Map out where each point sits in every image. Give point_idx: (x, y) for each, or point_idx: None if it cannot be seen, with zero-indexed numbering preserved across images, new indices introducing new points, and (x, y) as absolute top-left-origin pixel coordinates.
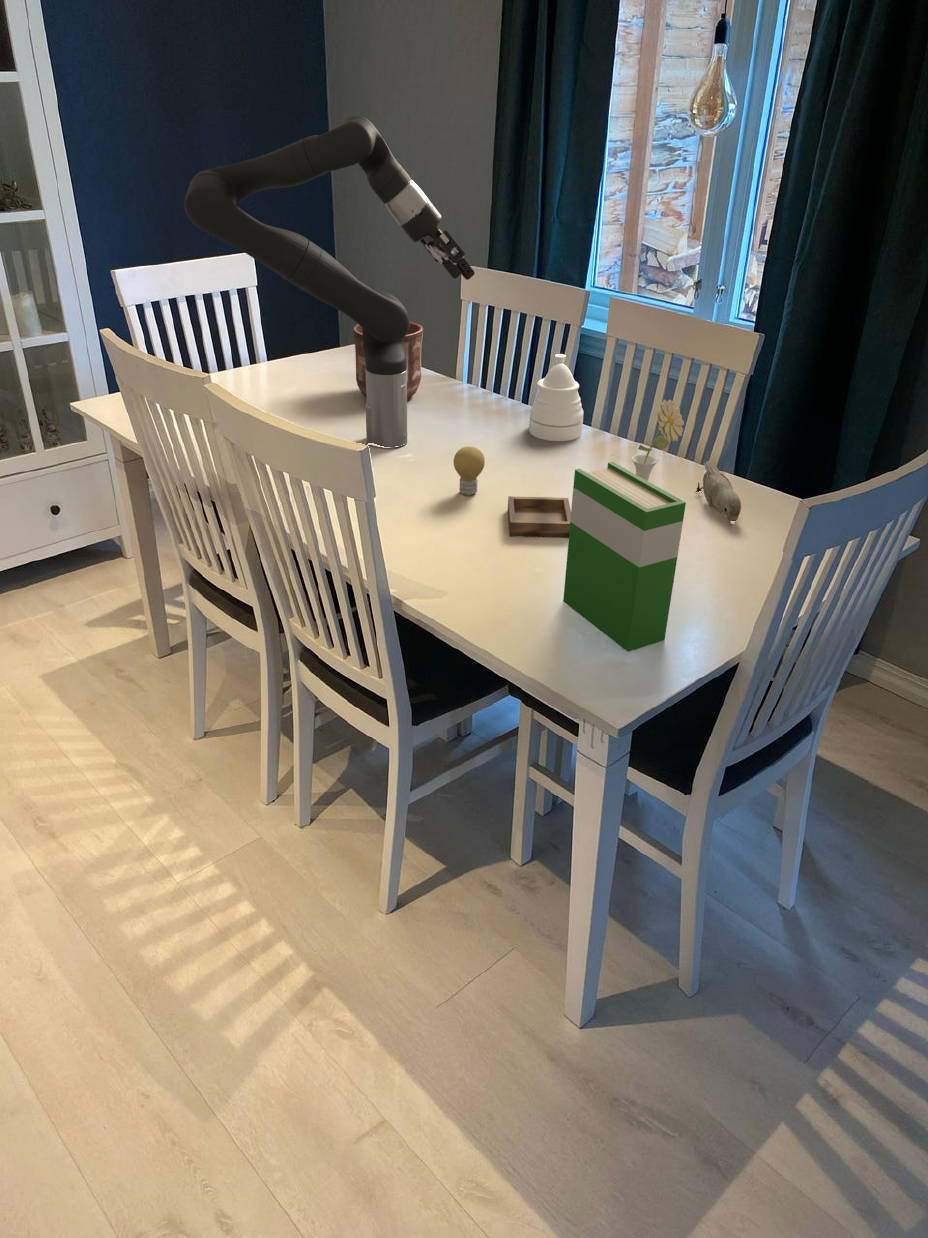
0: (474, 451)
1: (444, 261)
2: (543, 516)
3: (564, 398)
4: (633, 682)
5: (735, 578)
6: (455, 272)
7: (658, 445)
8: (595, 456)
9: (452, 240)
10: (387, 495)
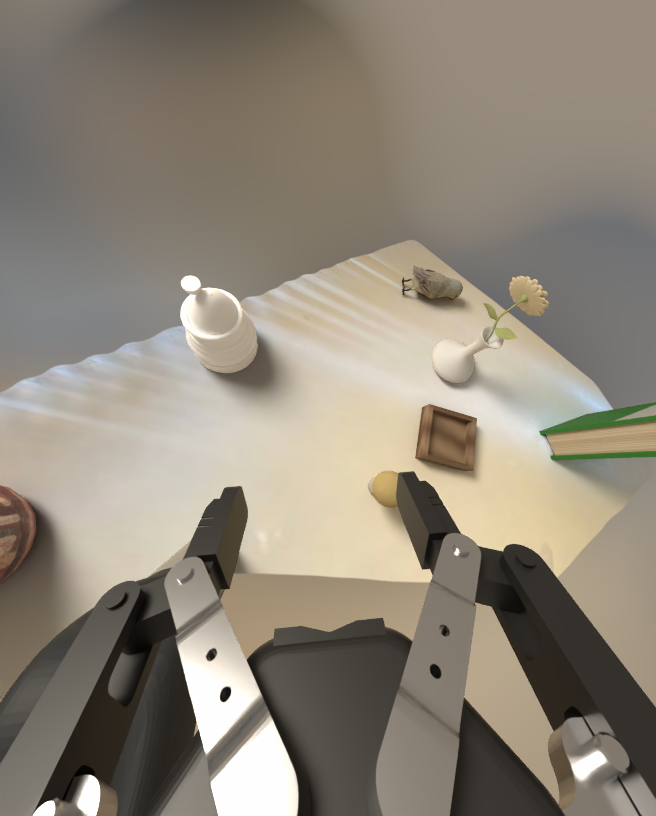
0: None
1: (216, 591)
2: (440, 432)
3: (244, 322)
4: None
5: (521, 338)
6: (241, 516)
7: (492, 316)
8: (307, 334)
9: (638, 700)
10: (371, 576)
